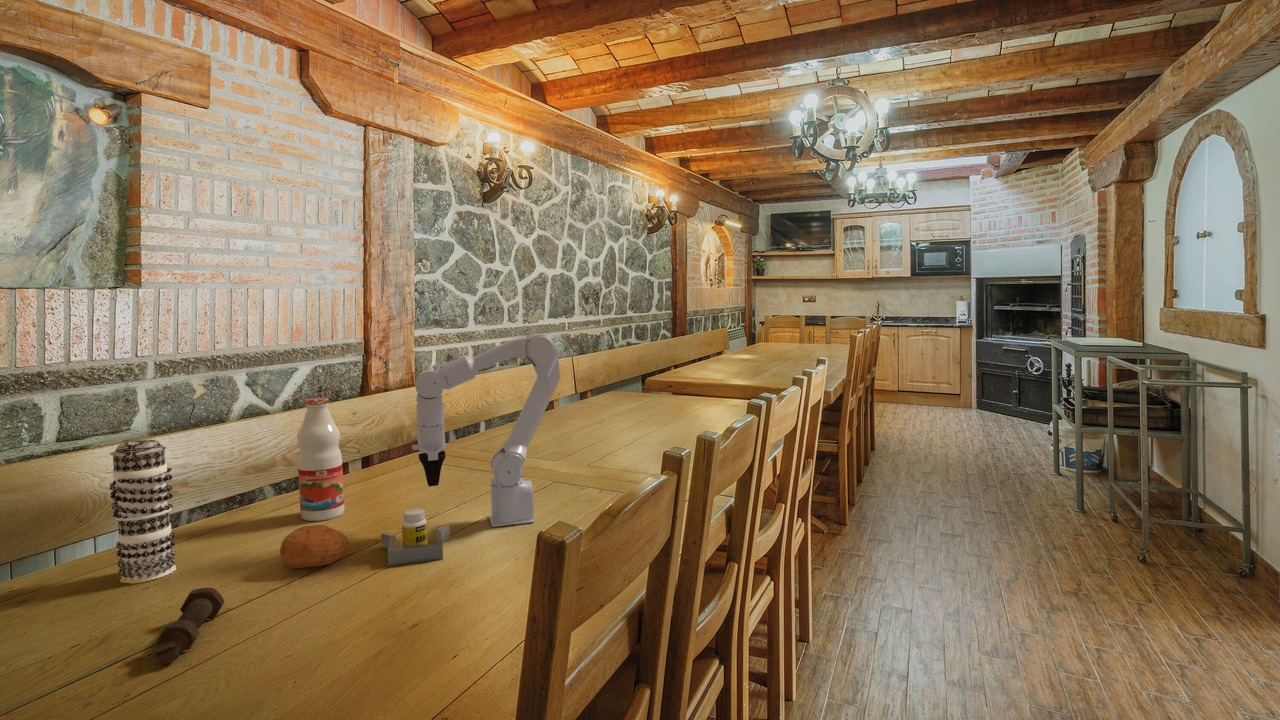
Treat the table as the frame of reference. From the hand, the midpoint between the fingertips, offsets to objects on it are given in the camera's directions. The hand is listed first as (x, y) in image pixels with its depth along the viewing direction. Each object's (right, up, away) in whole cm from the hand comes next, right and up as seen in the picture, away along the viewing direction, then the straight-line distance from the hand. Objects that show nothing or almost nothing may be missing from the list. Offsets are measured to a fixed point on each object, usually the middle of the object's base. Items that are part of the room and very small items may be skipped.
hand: (433, 485), depth 141 cm
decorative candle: (-46, -12, -23) cm, 52 cm away
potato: (-16, -12, -19) cm, 28 cm away
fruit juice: (-30, -9, +10) cm, 33 cm away
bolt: (-22, -14, -46) cm, 53 cm away
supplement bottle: (0, -11, -13) cm, 17 cm away
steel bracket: (+1, -11, -13) cm, 17 cm away
